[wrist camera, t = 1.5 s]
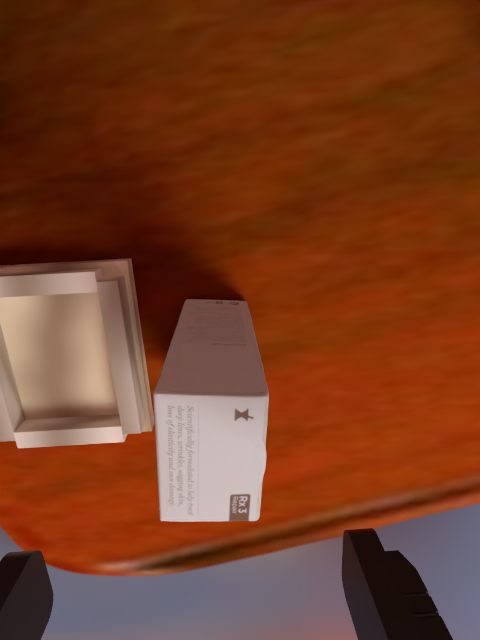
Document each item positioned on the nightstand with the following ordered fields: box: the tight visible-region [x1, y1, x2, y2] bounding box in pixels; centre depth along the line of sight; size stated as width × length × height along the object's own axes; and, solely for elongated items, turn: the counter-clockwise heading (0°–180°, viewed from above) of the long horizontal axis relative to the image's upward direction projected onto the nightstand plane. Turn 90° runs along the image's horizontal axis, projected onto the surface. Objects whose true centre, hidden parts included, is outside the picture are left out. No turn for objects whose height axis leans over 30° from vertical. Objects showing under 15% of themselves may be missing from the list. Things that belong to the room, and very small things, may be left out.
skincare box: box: [153, 299, 269, 522], centre depth 19 cm, size 6×4×12 cm
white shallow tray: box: [0, 258, 154, 448], centre depth 24 cm, size 10×12×2 cm
